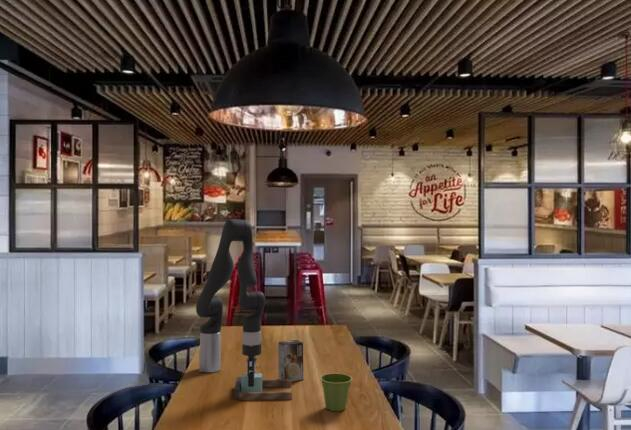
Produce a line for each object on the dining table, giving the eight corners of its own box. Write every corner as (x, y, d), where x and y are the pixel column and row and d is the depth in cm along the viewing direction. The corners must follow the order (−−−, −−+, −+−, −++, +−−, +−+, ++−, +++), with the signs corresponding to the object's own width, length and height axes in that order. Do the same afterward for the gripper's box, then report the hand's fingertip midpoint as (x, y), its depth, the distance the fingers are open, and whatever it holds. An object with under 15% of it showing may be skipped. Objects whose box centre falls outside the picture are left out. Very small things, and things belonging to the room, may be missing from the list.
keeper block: (241, 395, 223) (241, 377, 223) (242, 391, 228) (242, 373, 228) (261, 395, 223) (261, 377, 223) (262, 390, 228) (262, 373, 228)
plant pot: (328, 416, 201) (328, 384, 200) (314, 405, 211) (314, 375, 211) (358, 411, 205) (358, 380, 205) (343, 401, 216) (343, 371, 216)
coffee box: (297, 376, 248) (297, 339, 248) (303, 380, 243) (303, 342, 242) (277, 378, 244) (278, 341, 244) (284, 383, 238) (284, 344, 238)
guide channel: (234, 400, 217) (234, 389, 217) (237, 386, 233) (237, 376, 233) (291, 399, 218) (291, 388, 218) (291, 385, 235) (291, 376, 235)
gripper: (243, 338, 232) (243, 377, 232) (240, 346, 218) (240, 388, 218) (261, 338, 233) (261, 377, 233) (260, 346, 218) (260, 388, 219)
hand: (251, 383), depth 225 cm, fingers open, 8 cm apart
